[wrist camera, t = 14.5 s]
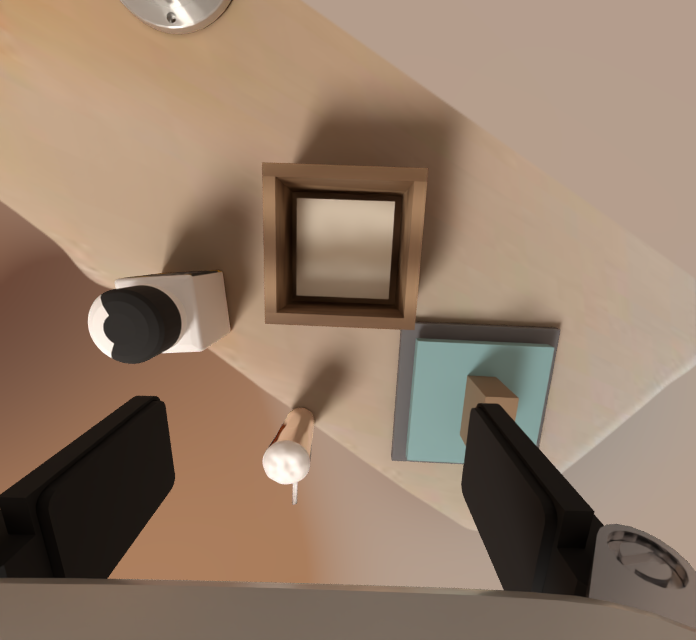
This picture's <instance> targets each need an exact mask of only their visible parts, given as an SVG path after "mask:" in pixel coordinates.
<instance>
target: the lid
mask: <svg viewBox="0 0 696 640" xmlns="http://www.w3.org/2000/svg"><path fill="white" fill-rule="evenodd" d="M553 353H554V347H552V346H550V345H548V344H532V343H511V342H489V341H468V340H446V339H425V338H416V343H415V354H414V365H413V376H412V388H411V399H410V410H409V421H408V433H407V444H406V457H407V460H412V461H430V462H449V463H464V458H465V450H466V442H467V434H468V426H469V418H470V411H471V409H472V408H476V406H477V404H478V403H497V404H499V405H501V406H502V408H503V409H504V410H505V411H506V412H507V413H508V414H509V415H510V417H511V418H512V419H513V420H514V421H515V422H516V423H517V425H518V426H519V427H520V428H521V429H522V430H523V431H524V432H525V434H526V435H527V436H528V437H529V438H530V439H531V440H532V441H533V443H534V444H535V445H536V444H537V439H538V434H539V428H540V423H541V417H542V412H543V407H544V401H545V396H546V391H547V385H548V380H549V375H550V369H551V364H552V358H553Z"/></svg>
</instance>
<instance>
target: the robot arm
mask: <svg viewBox="0 0 696 640" xmlns="http://www.w3.org/2000/svg"><path fill="white" fill-rule="evenodd" d="M120 1H121V2H122V3H123V4H124V5H125V7H126V8H127V9H128V10H129V11H130V12H131V13H132V14H133V15H134V16H136V17H137V18H138V19H139V20H141V21H142V22H143V23H145V24H147V25H148V26H150V27H152V28H154V29H156V30H159V31H162V32H166V33H172V34H186V33H192V32H195V31H198V30H200V29H203V28H205V27H207V26H208V25H210V24H211V23H213V22H214V21H215V20H216V19H217V18H218V17H219V16H220V15H221V14H222V13H223V12H224V11H225V9H226V8H227V6H228V5H229V3H230V2H231V0H120ZM174 481H175V472H174V465H173V458H172V451H171V443H170V436H169V428H168V421H167V414H166V407H165V404H164V402H162V401H160V399H159V398H158V397H157V396H135V397H133V398H132V399H130V400H129V401H128V402H126V403H125V404H124V405H122V406H121V407H119V408H118V409H117V410H115V411H114V412H113V413H111V414H110V415H109V416H107V417H106V418H105V419H103V420H102V421H100V422H99V423H98V424H96V425H95V426H93V427H92V428H91V429H89V430H88V431H87V432H85V433H84V434H83V435H81V436H80V437H79V438H77V439H76V440H74V441H73V442H72V443H71V444H69V445H68V446H66V447H65V448H63V449H62V450H61V451H59V452H58V453H57V454H55V455H54V456H52V457H51V458H50V459H48V460H47V461H46V462H44V463H43V464H41V465H40V466H39V467H37V468H36V469H35V470H33V471H32V472H31V473H29V474H28V475H26V476H25V477H24V478H22V479H21V480H20V481H18V482H17V483H16V484H14V485H13V486H11V487H10V488H9V489H7V490H6V491H5V492H3V493H2V494H0V640H696V571H695V570H694V569H693V568H692V566H691V565H690V564H689V563H688V561H687V560H685V559H684V558H683V557H682V556H681V555H680V554H679V553H678V552H677V551H675V550H674V549H673V548H671V547H670V546H668V545H667V544H665V543H664V542H663V541H661V540H660V539H657V538H656V537H654V536H652V535H650V534H648V533H646V532H644V531H641V530H638V529H636V528H633V527H630V526H625V525H619V524H609V525H605V526H604V525H603V524H602V523H601V522H600V521H599V519H598V518H597V517H596V516H595V515H594V511H593V509H592V508H591V507H590V506H589V505H588V504H587V503H586V502H585V500H584V499H583V498H582V497H581V496H580V495H579V494H578V492H577V491H576V490H575V489H574V488H573V487H572V486H571V484H570V483H569V482H568V481H567V480H566V479H565V478H564V477H563V475H562V474H561V473H560V472H559V471H558V470H557V469H556V468H555V466H554V465H553V464H552V463H551V462H550V461H549V460H548V458H547V457H546V456H545V455H544V454H543V453H542V452H541V451H540V449H539V448H538V447H537V446H536V445H535V444H534V443H533V441H532V440H531V439H530V438H529V437H528V436H527V435H526V434H525V432H524V431H523V430H522V429H521V428H520V427H519V426H518V425H517V423H516V422H515V421H514V420H513V419H512V418H511V417H510V415H509V414H508V413H507V412H506V411H505V410H504V409H503V408H502V406H501V405H499V404H497V403H478V404H477V406H476V408H472V409H471V411H470V418H469V426H468V434H467V442H466V450H465V458H464V466H463V474H462V483H461V485H462V493H463V496H464V499H465V501H466V503H467V506H468V508H469V510H470V513H471V515H472V517H473V519H474V522H475V524H476V526H477V529H478V531H479V533H480V536H481V538H482V540H483V543H484V545H485V547H486V550H487V552H488V554H489V557H490V559H491V561H492V563H493V566H494V568H495V571H496V573H497V575H498V578H499V580H500V582H501V585H502V587H503V589H504V590H481V589H462V588H434V587H405V586H374V585H373V586H372V585H343V584H308V583H270V582H230V581H191V580H189V581H188V580H139V579H137V580H136V579H107V578H108V577H109V575H110V574H111V573H112V571H113V570H114V568H115V567H116V566H117V564H118V562H119V561H120V560H121V559H122V557H123V556H124V555H125V553H126V552H127V550H128V549H129V548H130V546H131V545H132V543H133V542H134V541H135V539H136V538H137V536H138V535H139V534H140V532H141V531H142V529H143V528H144V527H145V525H146V524H147V522H148V521H149V520H150V518H151V517H152V516H153V514H154V513H155V511H156V510H157V509H158V507H159V506H160V504H161V503H162V502H163V500H164V499H165V497H166V496H167V495H168V493H169V492H170V490H171V489H172V487H173V485H174Z"/></svg>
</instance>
